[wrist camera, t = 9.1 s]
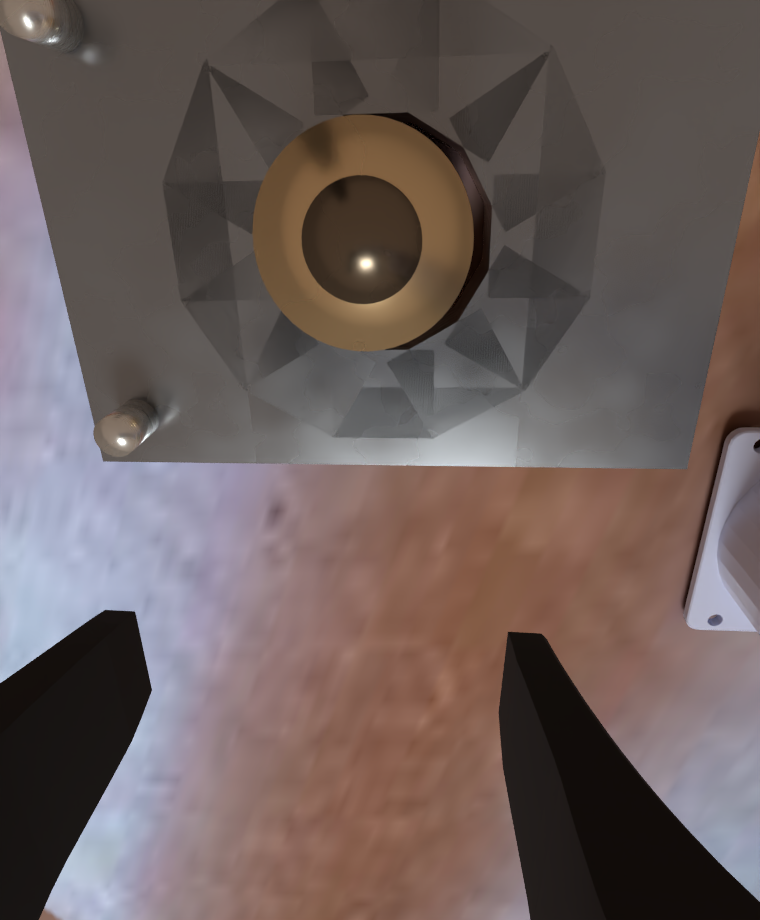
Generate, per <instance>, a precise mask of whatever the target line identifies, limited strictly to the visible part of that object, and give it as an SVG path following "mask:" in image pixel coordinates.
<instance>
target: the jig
mask: <svg viewBox="0 0 760 920" xmlns="http://www.w3.org/2000/svg"><path fill="white" fill-rule="evenodd" d="M0 31H1V35H2V40H3V44H4V48H5V52H6V56H7V61H8V65H9V69H10V73H11V77H12V81H13V86H14V90H15V94H16V98H17V102H18V107H19V111H20V115H21V119H22V123H23V128H24V132H25V136H26V140H27V144H28V148H29V153H30V157H31V161H32V165H33V169H34V174H35V178H36V182H37V186H38V190H39V194H40V199H41V203H42V207H43V211H44V215H45V220H46V224H47V228H48V232H49V236H50V240H51V245H52V249H53V253H54V257H55V261H56V266H57V270H58V274H59V278H60V282H61V286H62V291H63V295H64V299H65V303H66V307H67V312H68V316H69V320H70V324H71V328H72V332H73V337H74V341H75V345H76V349H77V353H78V358H79V362H80V366H81V370H82V374H83V379H84V383H85V387H86V391H87V395H88V399H89V404H90V408H91V412H92V416H93V420H94V425H95V427H94V439H95V441H96V443H97V445H98V446H99V448H100V450H101V454H102V458H103V461H119V462H194V463H269V464H345V465H420V466H495V467H570V468H645V469H687V466H688V461H689V456H690V452H691V447H692V442H693V438H694V433H695V428H696V424H697V419H698V414H699V410H700V405H701V401H702V396H703V391H704V387H705V382H706V377H707V373H708V368H709V363H710V359H711V354H712V349H713V345H714V340H715V335H716V331H717V326H718V322H719V317H720V312H721V308H722V303H723V298H724V294H725V289H726V284H727V280H728V275H729V270H730V266H731V261H732V257H733V252H734V247H735V243H736V238H737V233H738V229H739V224H740V219H741V215H742V210H743V205H744V201H745V196H746V192H747V187H748V182H749V178H750V173H751V168H752V164H753V159H754V154H755V150H756V145H757V140H758V136H759V131H760V0H0ZM348 115H375V116H381V117H386V118H389V119H393V120H396V121H399V122H412V123H413V124H415V125H417V126H418V127H420V128H421V129H423V130H425V131H426V132H428V133H429V134H431V135H432V136H434V137H436V138H437V139H439V140H440V141H442V142H444V143H445V144H447V145H448V146H450V147H452V148H453V149H455V150H456V151H458V152H459V153H460V155H461V157H462V159H463V161H464V163H465V165H466V167H467V169H468V171H469V173H470V175H471V177H472V179H473V181H474V183H475V185H476V187H477V190H478V192H479V194H480V196H481V198H482V200H483V202H484V225H483V246H482V261H481V262H480V264H479V266H478V267H477V269H476V271H475V272H474V274H473V276H472V277H471V279H470V281H469V282H468V284H467V286H466V287H465V289H464V291H463V292H462V294H461V296H460V297H459V299H458V301H457V302H456V304H455V306H453V307H451V308H450V309H449V310H448V311H447V312H446V313H445V315H444V316H443V317H442V318H441V319H440V320H439V321H438V322H437V323H436V324H435V325H434V326H433V327H431V328H430V329H429V330H427V331H426V332H425V333H423V334H422V335H420V336H419V337H417V338H415V339H413V340H411V341H409V342H407V343H405V344H402V345H399V346H397V347H393V348H389V349H385V350H378V351H352V350H346V349H341V348H337V347H334V346H331V345H328V344H326V343H323V342H321V341H319V340H316V339H315V338H313V337H311V336H310V335H308V334H306V333H305V332H303V331H302V330H301V329H300V328H298V327H297V326H296V325H294V324H293V323H292V322H291V321H290V320H289V319H288V318H287V317H286V316H285V315H284V314H283V312H282V311H281V310H280V309H279V307H278V306H277V305H276V304H275V302H274V301H273V299H272V297H271V296H270V294H269V292H268V291H267V289H266V287H265V284H264V282H263V280H262V278H261V275H260V272H259V269H258V266H257V263H256V258H255V253H254V247H253V234H252V231H253V215H254V209H255V203H256V199H257V196H258V193H259V190H260V186H261V184H262V182H263V180H264V178H265V175H266V173H267V171H268V170H269V168H270V167H271V165H272V163H273V162H274V160H275V159H276V158H277V156H278V155H279V154H280V153H281V152H282V150H283V149H284V148H285V147H286V146H287V145H288V144H289V143H290V142H291V141H293V140H294V139H295V138H296V137H297V136H299V135H300V134H302V133H303V132H304V131H306V130H307V129H309V128H311V127H313V126H315V125H317V124H319V123H321V122H323V121H327V120H330V119H333V118H336V117H341V116H348Z"/></svg>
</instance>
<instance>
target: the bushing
mask: <svg viewBox="0 0 760 920" xmlns="http://www.w3.org/2000/svg"><path fill="white" fill-rule="evenodd" d="M252 234H253V247H254V253H255V258H256V263H257V266H258V269H259V272H260V275H261V278H262V280H263V282H264V284H265V287H266V289H267V291H268V292H269V294H270V296H271V297H272V299H273V301H274V302H275V304H276V305H277V306H278V307H279V309H280V310H281V311H282V312H283V314H284V315H285V316H286V317H287V318H288V319H289V320H290V321H291V322H292V323H293V324H294V325H296V326H297V327H298V328H300V329H301V330H302V331H303V332H305V333H306V334H308V335H310V336H311V337H313V338H315V339H316V340H319V341H321V342H323V343H326V344H328V345H331V346H334V347H337V348H341V349H346V350H352V351H378V350H385V349H389V348H393V347H397V346H399V345H402V344H405V343H407V342H409V341H411V340H413V339H415V338H417V337H419V336H420V335H422V334H423V333H425V332H426V331H427V330H429V329H430V328H431V327H433V326H434V325H435V324H436V323H437V322H438V321H439V320H440V319H441V318H442V317H443V316H444V315H445V313H446V312H447V311H448V310H449V309H450V307H451V306H452V304H453V303H454V301H455V300H456V298H457V297H458V295H459V293H460V291H461V289H462V287H463V285H464V282H465V280H466V277H467V274H468V271H469V268H470V263H471V258H472V253H473V242H474V229H473V217H472V212H471V206H470V202H469V199H468V196H467V193H466V190H465V187H464V185H463V183H462V181H461V179H460V177H459V175H458V173H457V171H456V170H455V168H454V167H453V165H452V163H451V162H450V160H449V159H448V158H447V157H446V156H445V154H444V153H443V152H442V151H441V150H440V149H439V148H438V147H437V146H436V145H435V144H434V143H433V142H432V141H431V140H430V139H428V138H427V137H426V136H424V135H423V134H421V133H420V132H418V131H417V130H415V129H414V128H412V127H410V126H408V125H406V124H403V123H401V122H399V121H396V120H393V119H389V118H386V117H381V116H375V115H348V116H341V117H336V118H333V119H330V120H327V121H323V122H321V123H319V124H317V125H315V126H313V127H311V128H309V129H307V130H306V131H304V132H303V133H302V134H300V135H299V136H297V137H296V138H295V139H294V140H293V141H291V142H290V143H289V144H288V145H287V146H286V147H285V148H284V149H283V150H282V152H281V153H280V154H279V155H278V156H277V158H276V159H275V160H274V162H273V163H272V165H271V167H270V168H269V170H268V171H267V173H266V175H265V178H264V180H263V182H262V184H261V186H260V190H259V193H258V196H257V199H256V203H255V209H254V215H253V231H252Z"/></svg>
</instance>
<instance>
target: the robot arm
mask: <svg viewBox="0 0 760 920" xmlns="http://www.w3.org/2000/svg"><path fill="white" fill-rule="evenodd" d="M759 439H760V427H743V428H737V429H735V430H734V431H732V432H731V433H730V434H729V435H728V436H727V437H726V440H725V442H724V446H723V450H722V455H721V459H720V463H719V467H718V471H717V475H716V480H715V484H714V488H713V492H712V496H711V500H710V505H709V509H708V513H707V517H706V521H705V525H704V530H703V534H702V538H701V542H700V546H699V550H698V555H697V559H696V563H695V567H694V571H693V575H692V580H691V584H690V588H689V592H688V596H687V600H686V605H685V609H684V613H683V616H684V619H685V621H686V622H687V624H688V626H689V627H691V628H693V629H697V630H725V631H754V632H758V633H759V635H760V447H759V448H755V449H753V446H754V444H755V442H756V441H758V440H759ZM716 614H717V616H716V617H714V618H712V619H709V617H710V616H712V615H716ZM151 691H152V688H151V684H150V679H149V674H148V670H147V665H146V660H145V656H144V651H143V646H142V642H141V637H140V633H139V628H138V623H137V619H136V614H135V612H132V611H113V610H104V611H103V612H101V613H100V614H98V615H97V616H95V617H94V618H92V619H91V620H89V621H88V622H86V623H85V624H83V625H82V626H81V627H79V628H78V629H76V630H75V631H74V632H72V633H71V634H69V635H68V636H67V637H65V638H64V639H62V640H61V641H60V642H58V643H57V644H55V645H54V646H53V647H51V648H50V649H48V650H47V651H46V652H44V653H43V654H41V655H40V656H39V657H37V658H36V659H34V660H33V661H31V662H30V663H29V664H27V665H26V666H24V667H23V668H21V669H20V670H19V671H17V672H16V673H14V674H13V675H12V676H10V677H9V678H7V679H6V680H4V681H3V682H2V683H0V920H39V918H40V915H41V913H42V911H43V909H44V907H45V904H46V902H47V900H48V898H49V895H50V893H51V891H52V889H53V887H54V885H55V883H56V881H57V879H58V877H59V875H60V873H61V871H62V869H63V867H64V865H65V863H66V861H67V859H68V857H69V855H70V854H71V852H72V850H73V848H74V846H75V844H76V843H77V841H78V839H79V837H80V835H81V834H82V832H83V830H84V828H85V826H86V824H87V823H88V821H89V819H90V817H91V815H92V814H93V812H94V810H95V808H96V806H97V804H98V803H99V801H100V799H101V797H102V795H103V794H104V792H105V790H106V788H107V786H108V784H109V783H110V781H111V779H112V777H113V775H114V773H115V772H116V770H117V768H118V766H119V764H120V762H121V760H122V759H123V757H124V755H125V753H126V751H127V749H128V747H129V745H130V743H131V742H132V739H133V737H134V734H135V732H136V730H137V727H138V725H139V722H140V720H141V718H142V715H143V712H144V710H145V707H146V704H147V702H148V699H149V696H150V694H151ZM499 722H500V736H501V749H502V760H503V770H504V775H505V781H506V786H507V792H508V797H509V803H510V808H511V814H512V819H513V824H514V830H515V835H516V840H517V846H518V851H519V857H520V862H521V867H522V873H523V878H524V883H525V889H526V894H527V899H528V906H529V913H530V919H531V920H760V902H759V901H758V900H757V899H756V898H755V897H754V896H753V895H752V894H751V893H750V892H749V891H748V890H747V889H746V888H744V887H743V886H742V885H741V884H740V883H739V882H738V881H737V880H736V879H735V878H734V877H733V876H732V875H731V874H730V873H729V872H728V871H727V870H726V869H725V868H724V867H723V866H722V865H721V864H720V863H719V862H718V861H717V860H716V859H715V858H714V857H713V856H712V855H711V854H710V853H709V852H708V851H707V850H706V849H705V848H704V846H703V845H702V844H701V843H700V842H699V841H698V840H697V839H696V838H695V837H694V836H693V835H692V834H691V833H690V832H689V831H688V829H687V828H686V827H685V826H684V825H683V824H682V823H681V822H680V821H679V820H678V818H677V817H676V816H675V815H674V814H673V813H672V812H671V811H670V810H669V808H668V807H667V806H666V805H665V804H664V803H663V802H662V800H661V799H660V798H659V797H658V796H657V795H656V793H655V792H654V791H653V790H652V789H651V787H650V786H649V785H648V784H647V783H646V781H645V780H644V779H643V778H642V777H641V775H640V774H639V773H638V771H637V770H636V769H635V768H634V766H633V765H632V764H631V763H630V761H629V760H628V759H627V758H626V756H625V755H624V754H623V753H622V751H621V750H620V749H619V747H618V746H617V745H616V743H615V742H614V741H613V739H612V738H611V737H610V735H609V734H608V733H607V731H606V730H605V728H604V727H603V726H602V724H601V723H600V721H599V720H598V719H597V717H596V716H595V714H594V713H593V712H592V710H591V709H590V707H589V706H588V705H587V703H586V702H585V700H584V699H583V697H582V696H581V694H580V693H579V691H578V690H577V688H576V687H575V685H574V683H573V682H572V680H571V679H570V677H569V676H568V674H567V673H566V671H565V669H564V668H563V666H562V665H561V663H560V661H559V660H558V658H557V656H556V655H555V653H554V651H553V650H552V648H551V646H550V644H549V643H548V641H547V639H546V638H545V637H544V636H543V635H542V634H537V633H519V632H508V637H507V646H506V654H505V663H504V671H503V680H502V689H501V697H500V706H499Z"/></svg>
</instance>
